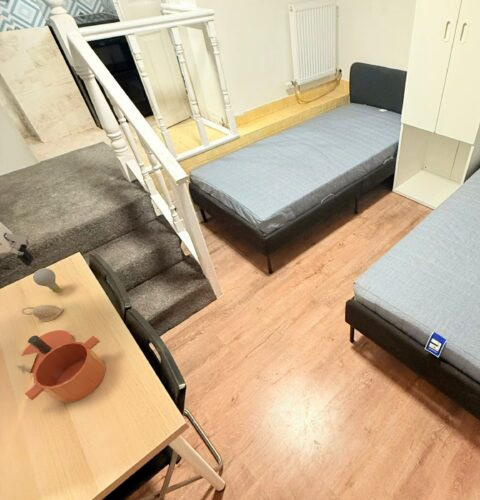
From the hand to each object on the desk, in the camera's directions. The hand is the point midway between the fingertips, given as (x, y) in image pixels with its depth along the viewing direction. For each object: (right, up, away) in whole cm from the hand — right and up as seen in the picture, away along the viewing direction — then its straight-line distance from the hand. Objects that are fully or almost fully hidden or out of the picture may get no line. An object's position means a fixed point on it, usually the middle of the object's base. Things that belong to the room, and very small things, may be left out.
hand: (11, 265), depth 92 cm
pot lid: (+7, -25, +3) cm, 26 cm away
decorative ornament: (0, -16, +13) cm, 21 cm away
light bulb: (-3, -10, +20) cm, 22 cm away
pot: (+21, -30, -2) cm, 37 cm away
